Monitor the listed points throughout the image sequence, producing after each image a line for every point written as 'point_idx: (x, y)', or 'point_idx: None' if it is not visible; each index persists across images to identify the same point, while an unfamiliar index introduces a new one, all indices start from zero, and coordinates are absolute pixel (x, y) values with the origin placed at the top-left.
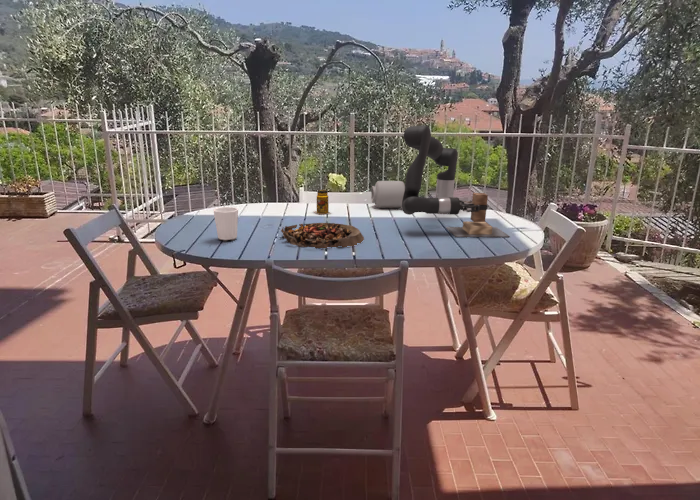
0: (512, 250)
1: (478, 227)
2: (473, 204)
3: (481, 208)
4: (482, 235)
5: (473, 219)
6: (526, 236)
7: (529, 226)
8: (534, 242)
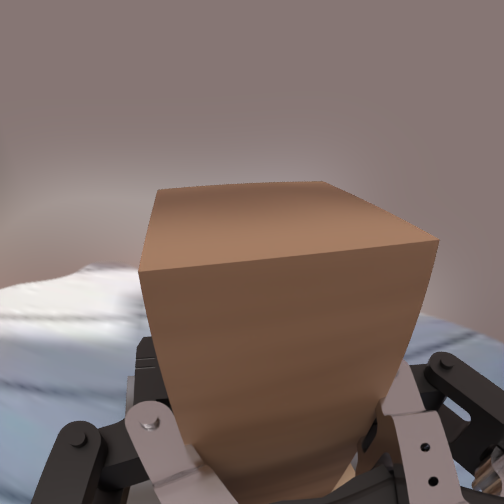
0: (481, 345)
1: (352, 471)
2: (431, 415)
3: None
4: (356, 462)
5: (311, 496)
6: None
7: (118, 284)
8: None
